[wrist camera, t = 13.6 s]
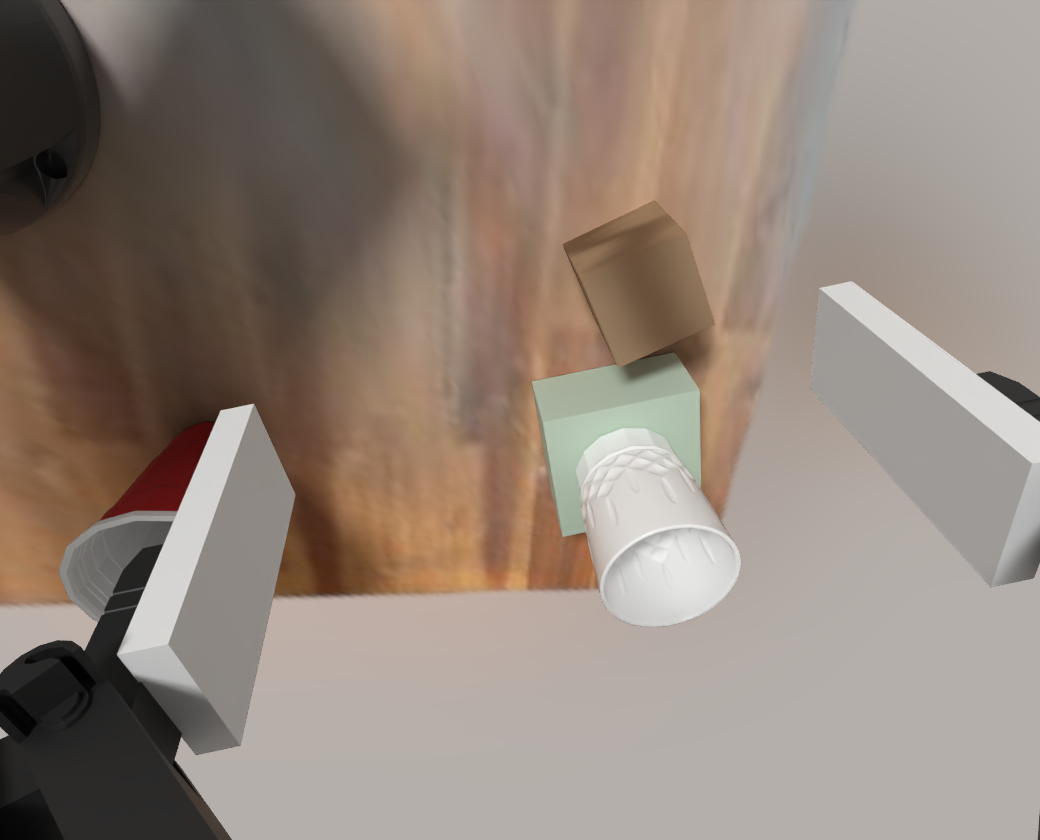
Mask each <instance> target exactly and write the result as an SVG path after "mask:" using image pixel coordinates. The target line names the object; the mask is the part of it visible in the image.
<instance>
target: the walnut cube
mask: <svg viewBox="0 0 1040 840" xmlns="http://www.w3.org/2000/svg"><path fill="white" fill-rule="evenodd" d="M563 246H564V249H565V251H566V253H567V256H568V258H569V260H570V263H571V265H572V267H573V270H574V272H575V274H576V277H577V279H578V281H579V284H580V286H581V288H582V291H583V293H584V295H585V298H586V300H587V302H588V305H589V307H590V309H591V312H592V314H593V316H594V319H595V321H596V323H597V325H598V327H599V329H600V331H601V333H602V335H603V338H604V340H605V342H606V344H607V346H608V348H609V350H610V352H611V354H612V356H613V358H614V360H615V362H616V364H617V366H618V368H620V367H622V366H624V365H626V364H629V363H631V362H633V361H635V360H637V359H640V358H642V357H644V356H646V355H649V354H651V353H653V352H655V351H658V350H660V349H662V348H664V347H667V346H669V345H671V344H673V343H675V342H678V341H680V340H682V339H684V338H687V337H689V336H691V335H693V334H696V333H698V332H700V331H702V330H705V329H707V328H709V327H711V326H713V325H715V323H714V320H713V317H712V314H711V310H710V307H709V304H708V301H707V298H706V294H705V291H704V288H703V285H702V282H701V278H700V275H699V272H698V269H697V266H696V262H695V259H694V256H693V253H692V250H691V246H690V243H689V240H688V237H687V234H686V232H685V231H684V230H683V229H682V228H681V227H680V226H679V225H678V224H677V223H676V222H675V221H674V220H673V219H672V218H671V217H670V216H669V215H668V214H667V213H666V212H665V211H664V210H663V209H662V208H661V207H660V206H659V205H658V204H657V203H656V201H655V200H654V201H652V202H650V203H648V204H646V205H644V206H642V207H639V208H637V209H635V210H633V211H631V212H629V213H627V214H625V215H623V216H621V217H619V218H617V219H614V220H612V221H610V222H608V223H606V224H604V225H602V226H600V227H598V228H596V229H594V230H591V231H589V232H587V233H585V234H583V235H581V236H579V237H577V238H575V239H573V240H571V241H569V242H566V243H564V244H563Z"/></svg>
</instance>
